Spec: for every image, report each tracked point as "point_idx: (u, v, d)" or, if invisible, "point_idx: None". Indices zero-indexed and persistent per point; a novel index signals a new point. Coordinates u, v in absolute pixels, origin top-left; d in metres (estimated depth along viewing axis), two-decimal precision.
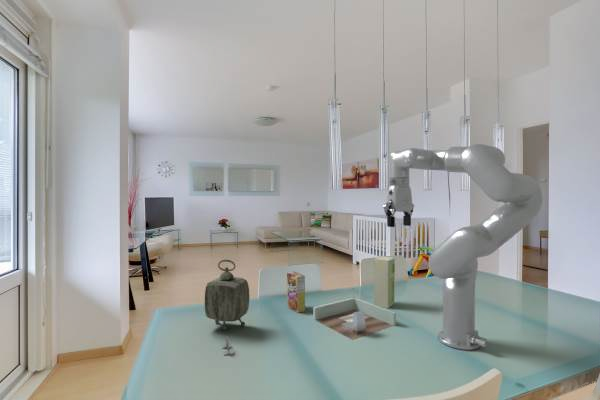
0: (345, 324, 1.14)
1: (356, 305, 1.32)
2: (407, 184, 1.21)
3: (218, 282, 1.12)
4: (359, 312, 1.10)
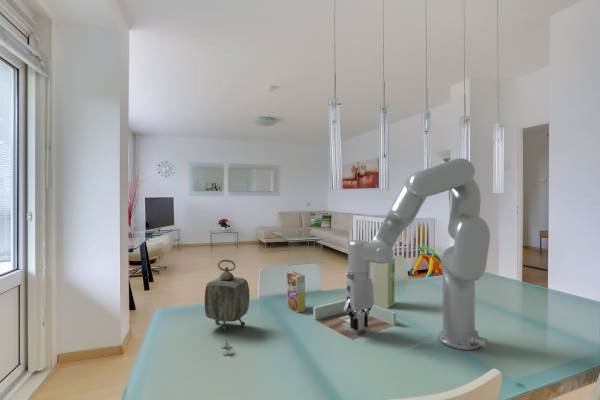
0: (345, 324, 1.14)
1: None
2: (367, 279, 1.07)
3: (218, 282, 1.12)
4: (359, 312, 1.10)
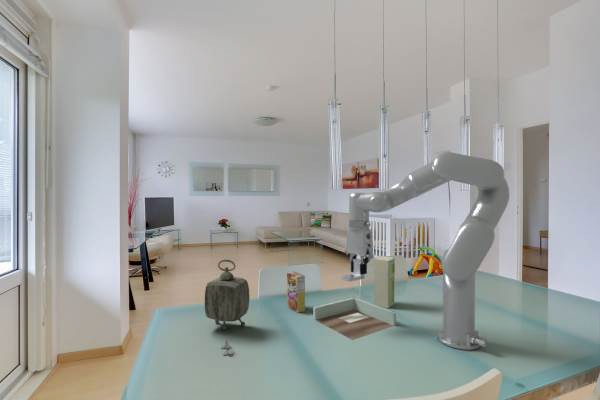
0: (350, 277, 1.15)
1: (356, 305, 1.32)
2: None
3: (218, 282, 1.12)
4: (358, 259, 1.19)
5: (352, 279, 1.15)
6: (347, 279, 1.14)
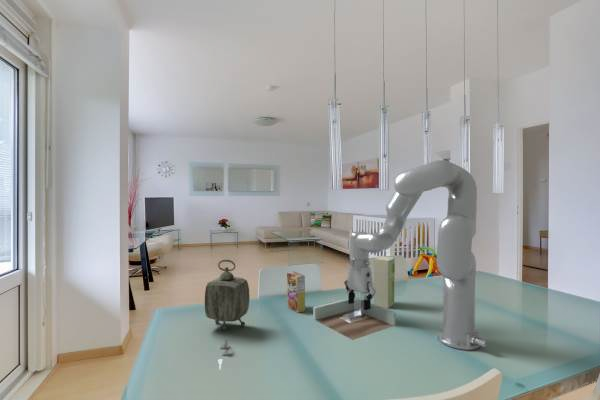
0: (351, 316, 1.21)
1: None
2: None
3: (218, 282, 1.12)
4: (359, 298, 1.25)
5: (353, 319, 1.21)
6: (348, 319, 1.21)
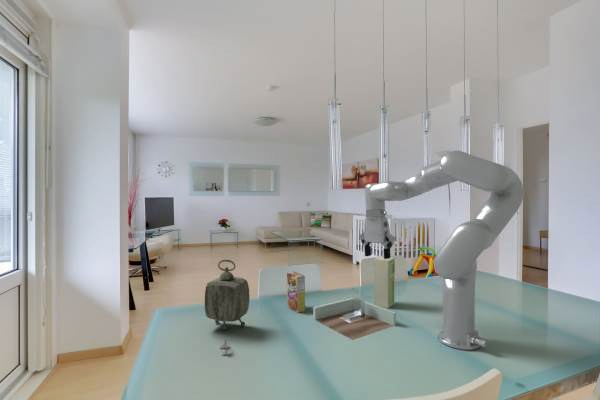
0: (351, 316, 1.21)
1: None
2: None
3: (218, 282, 1.12)
4: (359, 298, 1.25)
5: (353, 319, 1.21)
6: (348, 319, 1.21)
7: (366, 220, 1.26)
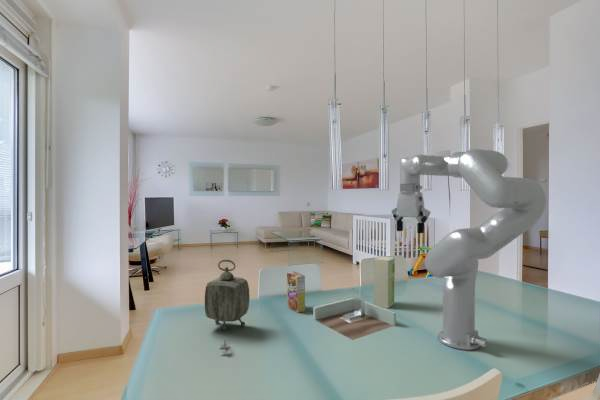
0: (351, 316, 1.21)
1: None
2: None
3: (218, 282, 1.12)
4: (359, 298, 1.25)
5: (353, 319, 1.21)
6: (348, 319, 1.21)
7: (400, 195, 1.26)
